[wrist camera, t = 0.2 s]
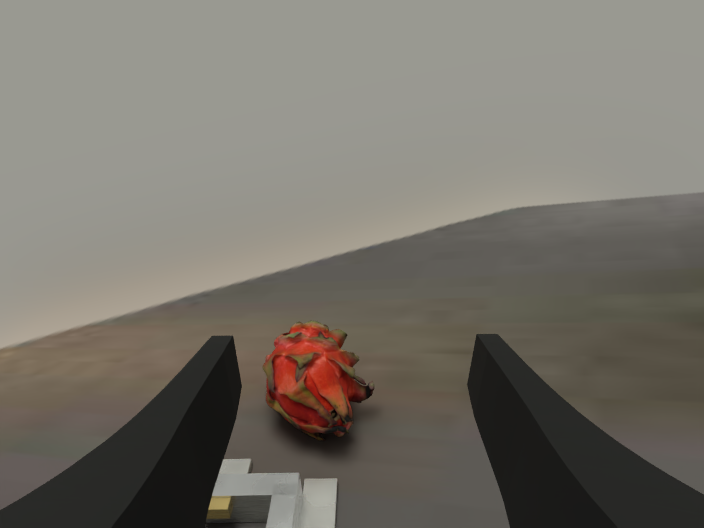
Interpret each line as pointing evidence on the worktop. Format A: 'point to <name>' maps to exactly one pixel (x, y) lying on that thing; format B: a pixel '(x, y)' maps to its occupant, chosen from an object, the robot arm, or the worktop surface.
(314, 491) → the socket
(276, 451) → the worktop surface
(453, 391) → the worktop surface
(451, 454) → the worktop surface
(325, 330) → the dragon fruit
